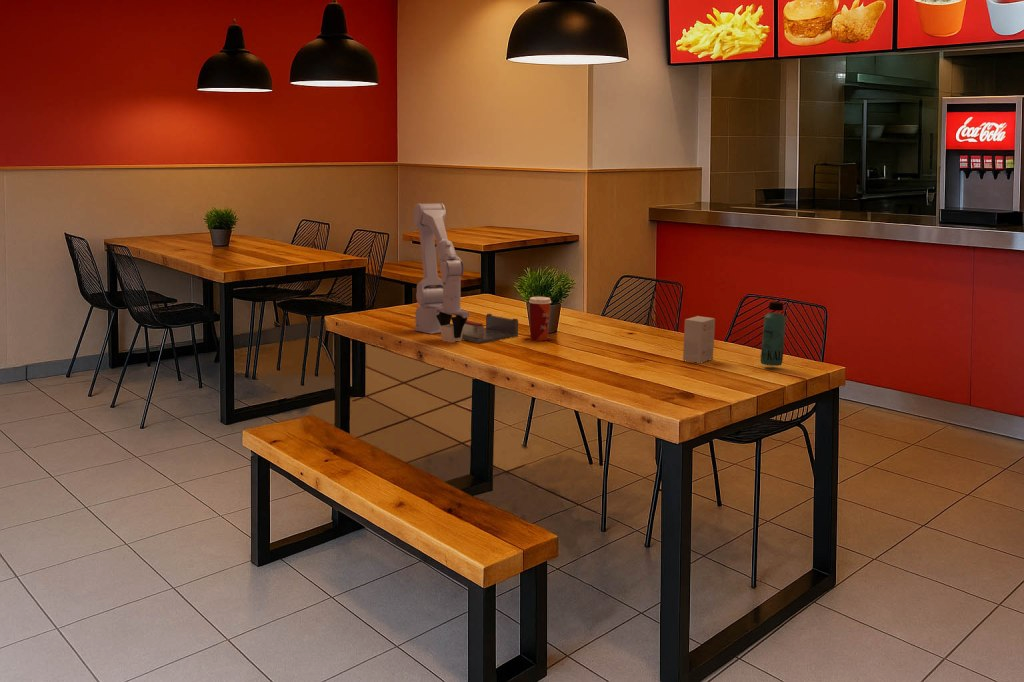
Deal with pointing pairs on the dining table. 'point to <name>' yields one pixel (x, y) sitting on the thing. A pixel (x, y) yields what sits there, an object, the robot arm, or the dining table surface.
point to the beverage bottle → (773, 336)
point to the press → (496, 329)
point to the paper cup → (539, 317)
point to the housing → (449, 333)
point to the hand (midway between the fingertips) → (451, 336)
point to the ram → (473, 329)
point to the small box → (698, 339)
